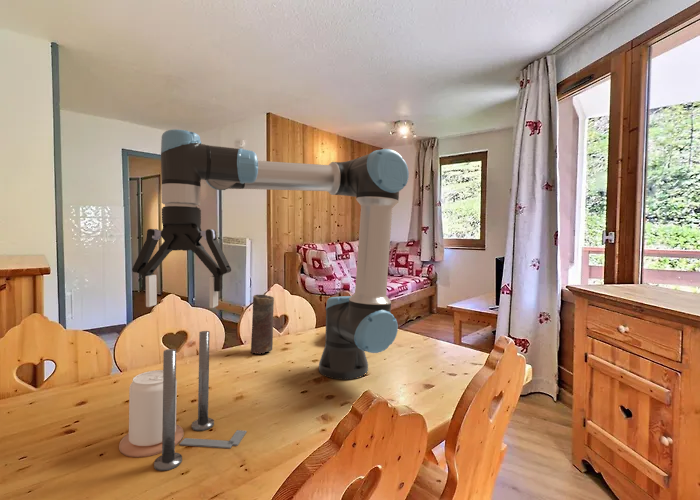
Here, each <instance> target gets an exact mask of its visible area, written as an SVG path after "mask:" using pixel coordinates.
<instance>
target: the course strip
mask: <svg viewBox="0 0 700 500" xmlns="http://www.w3.org/2000/svg"><path fill="white" fill-rule="evenodd" d="M246 434H247V430H241V429H239V430H238V429H237V430H236V431H235V432H234V434H233V435H232V436H231V438H230V439H229V440H221V439H207V438H192V437H191V438H190V437H183V438H182V440H181V441H180V442H179V443H178V445H179V446H187V447H188V446H189V447H200V448H201V447H202V448H204V447H205V448H216V449H218V448H219V449H231V448H232V446H233V447H234V446H235V447H238V446H239V445H240V443H241V441H242V440H243V438H244V436H246Z"/></svg>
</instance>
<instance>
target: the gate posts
mask: <svg viewBox="0 0 700 500" xmlns="http://www.w3.org/2000/svg"><path fill="white" fill-rule="evenodd" d="M210 333H211V332H210V330H201V331H199V335H198V336H199V339H198V341H199V342H198V386H197V387H198V389H197V391H198V394H197V396H198V397H197V398H198V399H197V405H198V406H197V419H195V420H193V421H192V422H191V429H192V431H196V432H203V431H207V430H210V429H211V428H213V427H214V426H215V420H214V419H213V418H212V417H209V389H210V388H209V387H210V385H209V384H210V383H209V381H210V337H211V336H210V335H211V334H210ZM162 355H163V357H162V359H163V361H162V362H163V365H162V370H163V421H162V453H161V455H159V456H158V457H157V458H156V459H154V462H153V468H154V469H155V470H156V471H159V472H167V471H171V470H174V469H175V468H177V467H179V466H180V465H181V464H182V461H183V456H182V454H181V453H179V452H176V450H175V449H176V446H175V400H176V401H177V399H176V380H177V349H175V348H169V349H167V348H166V349H165V350H163V354H162Z"/></svg>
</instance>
